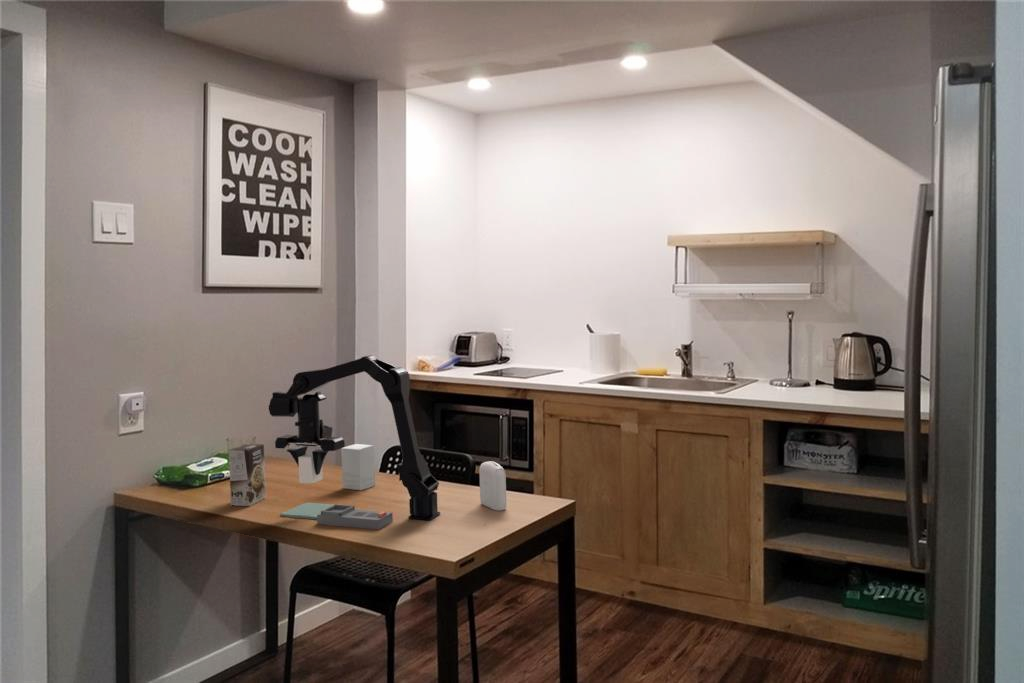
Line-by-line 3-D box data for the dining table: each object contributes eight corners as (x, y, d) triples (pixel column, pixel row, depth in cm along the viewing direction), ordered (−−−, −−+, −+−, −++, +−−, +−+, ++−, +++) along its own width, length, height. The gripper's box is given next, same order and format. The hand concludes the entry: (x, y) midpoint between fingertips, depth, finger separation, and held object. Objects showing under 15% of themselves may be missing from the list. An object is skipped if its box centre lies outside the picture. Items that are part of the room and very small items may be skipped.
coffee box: (251, 506, 226) (248, 450, 225) (230, 506, 228) (227, 449, 227) (267, 498, 235) (264, 443, 234) (247, 497, 237) (244, 443, 236)
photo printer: (478, 503, 224) (477, 459, 223) (492, 501, 226) (491, 457, 225) (494, 512, 215) (493, 466, 214) (508, 509, 217) (507, 464, 216)
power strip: (392, 521, 208) (392, 508, 208) (378, 529, 202) (378, 516, 201) (332, 516, 214) (332, 503, 214) (317, 523, 208) (316, 510, 208)
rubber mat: (343, 507, 223) (343, 505, 223) (318, 519, 212) (318, 517, 212) (306, 504, 227) (306, 502, 227) (280, 516, 216) (280, 513, 216)
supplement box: (376, 485, 248) (375, 445, 247) (360, 491, 241) (358, 449, 241) (358, 483, 251) (356, 443, 251) (341, 488, 245) (340, 447, 244)
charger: (322, 479, 220) (321, 453, 220) (312, 483, 216) (311, 457, 215) (310, 478, 222) (309, 452, 221) (299, 482, 217) (298, 456, 217)
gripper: (354, 413, 222) (356, 469, 223) (297, 411, 229) (299, 466, 230) (332, 420, 212) (334, 478, 213) (272, 417, 218) (275, 474, 219)
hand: (310, 474), depth 219 cm, fingers closed on charger, 4 cm apart
